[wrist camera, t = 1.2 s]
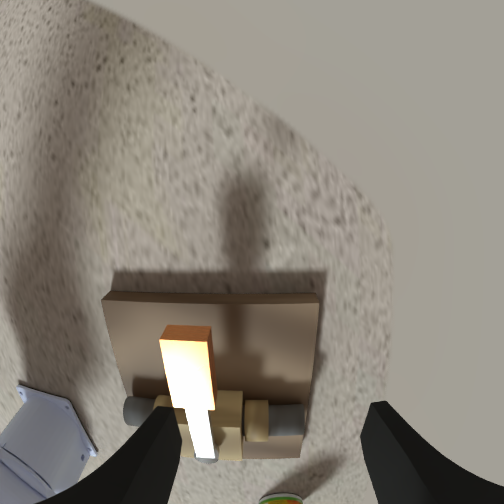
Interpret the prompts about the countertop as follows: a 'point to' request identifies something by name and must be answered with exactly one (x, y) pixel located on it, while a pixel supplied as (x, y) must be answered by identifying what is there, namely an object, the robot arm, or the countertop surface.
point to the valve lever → (193, 382)
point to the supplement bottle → (281, 499)
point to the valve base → (223, 364)
